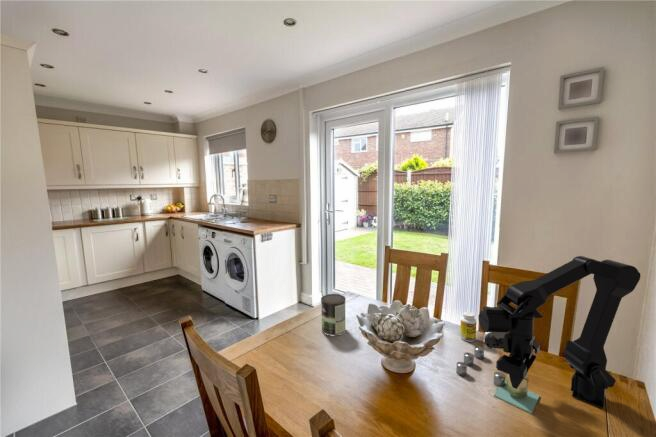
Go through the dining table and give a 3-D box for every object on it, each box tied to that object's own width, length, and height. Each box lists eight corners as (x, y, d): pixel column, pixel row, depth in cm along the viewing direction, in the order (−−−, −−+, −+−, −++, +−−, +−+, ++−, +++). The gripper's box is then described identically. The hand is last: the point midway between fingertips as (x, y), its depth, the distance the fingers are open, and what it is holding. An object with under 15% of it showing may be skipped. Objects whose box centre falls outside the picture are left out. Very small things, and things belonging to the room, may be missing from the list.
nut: (529, 391, 81) (530, 374, 80) (524, 400, 77) (525, 382, 77) (509, 383, 84) (510, 366, 84) (504, 391, 81) (504, 374, 81)
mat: (539, 396, 81) (539, 395, 81) (531, 414, 75) (531, 412, 75) (503, 381, 87) (503, 379, 87) (493, 396, 81) (493, 394, 81)
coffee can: (322, 337, 115) (322, 304, 113) (320, 325, 125) (320, 294, 124) (347, 335, 116) (347, 302, 115) (343, 323, 126) (343, 293, 125)
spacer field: (518, 369, 93) (518, 361, 92) (501, 395, 82) (502, 385, 81) (473, 352, 103) (473, 344, 103) (453, 372, 92) (453, 363, 92)
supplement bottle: (465, 343, 109) (466, 317, 108) (457, 335, 114) (457, 311, 113) (478, 341, 110) (480, 316, 108) (469, 334, 115) (470, 310, 114)
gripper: (499, 311, 91) (496, 357, 93) (476, 332, 79) (474, 385, 80) (541, 323, 83) (538, 373, 85) (524, 348, 70) (521, 406, 72)
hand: (517, 383), depth 81 cm, fingers closed on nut, 5 cm apart
